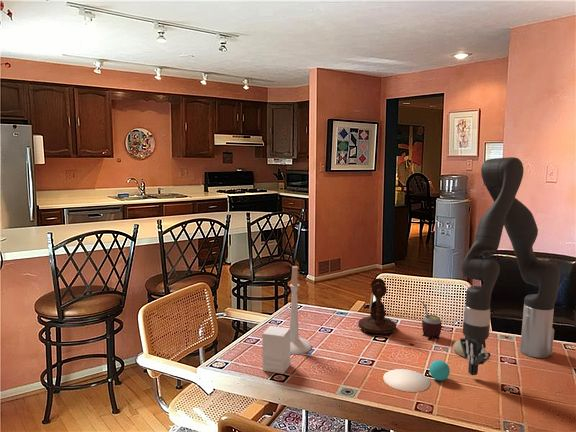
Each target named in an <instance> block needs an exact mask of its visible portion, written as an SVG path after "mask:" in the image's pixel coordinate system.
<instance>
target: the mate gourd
mask: <svg viewBox="0 0 576 432" xmlns="http://www.w3.org/2000/svg"><path fill="white" fill-rule="evenodd" d="M419 302H420V303H421V304H422V305H423V307H424V310H425V313H426V315H425V316H424V317H422V320H421V321H422V322H421V328H422V329H421V330H422V336H423V337H426V338H427V340H428V341H431V339H435V340H440V336H441V333H442V332H441V331H442V326H443V324H442V320H441V318H440V317H439V316H437V315H434V314H429V313H428V310H427V305H426V304H425V303H424V302H423V301H421V300H419Z"/></svg>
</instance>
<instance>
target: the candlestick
mask: <svg viewBox="0 0 576 432" xmlns="http://www.w3.org/2000/svg"><path fill="white" fill-rule="evenodd" d="M298 269H299V267H298V266H297V265H293V266H292V267H291V283H290V284H289V287H290V290H291V302H290V304H291V305H290V314H289V315H290V316H289V328H290V355H302V354H306V353H308V352H310V351H311V350H312V343H311V342H310V341H309V340H307V339H305V338H304V337H300V336H299V334H300V333H299V308H298V291H299V287H300V284H298V282H299V281H298V280H299V279H298V277H299V276H298V275H299V273H298V271H299V270H298Z"/></svg>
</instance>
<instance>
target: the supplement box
mask: <svg viewBox="0 0 576 432" xmlns="http://www.w3.org/2000/svg"><path fill="white" fill-rule="evenodd" d="M290 366H291V354H290V327H282V326H275V325H269V326H268V327H267V328H266V329H265V331H263V332H262V371H264V372H269V373H276V374H282V375H284V374H285V372H286V371H287V370H288V368H289V367H290Z"/></svg>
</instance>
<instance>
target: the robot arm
mask: <svg viewBox="0 0 576 432" xmlns="http://www.w3.org/2000/svg"><path fill="white" fill-rule="evenodd" d="M524 169H525V168H524V165H523V162H522V160H520V158H518V157H515V156H514V157H512V156H511V157H498V158H497V157H496V158H490V159H486V160H485V161H483V163H482V165H481V168H480V170H481V171H480V173H481V178H482V181H483V184H484V186H485V188H486V189H487V192H488V193H489V195H490V197H491V200H493V203H492V204H491V206H489V207H488V209H487V210H486V211H485V212H484V214H483V215H482V217H481V218H480V220H479V223H478V225H477V229H476V234H475V237H474V241H473V243H472V245H471V247H470V248H469V250H468V252H467V254H466V255H465V257H464V258H463V261H462V264H461V273H462V275H463V276H464V277H465V278H467V279H472V280H476V281H481V282H483V284H482V285H473V286H469V287H468V288H467V289H466V293H465V304H464V305H465V306H464V311H463V319H462V320H463V323H462V334H463V335H464V337H462V338H459V340H460V342H461V346H462V349H463V352H464V356H465V357H464V356H463V357H464V358H466V359H467V362H468V368H467V369H468V374H470V375H471V376H477V375H478V372H479V365H484V364H485V363H486V362H487V361H488V359H489V358H490V357H491V352H487V350H486V346H487V344H486V340H487V339H488V338H489V337H490V326H491V325H490V324H491V302H492V293H493V290H494V287H495V284H496V282H497V280H498V277H499V275H500V271H501V269H500V264H499V262H498V261H497V260H496V259H494V258H487V257H482V255H483V254H485V253H492V252H496V251H498V249H499V246H500V242H501V239H502V234H503V229H505V231H506V233H507V236H508V238H509V240H510V243H511V246H512V249H513V251H514V254H515V257H516V261H517V264H518V269H519V273H520V275H521V278H522V280H523V281H524V283H526V284H528V285H531V286H534V287H537V288H538V291H537V293H531V294H527V295H526V296H525V297H524V301H523V310H522V311H523V312H522V323H521V325H522V326H521V335H520V347H519V350H520V352H521V353H522V354H524V355H526V356H529V357H532V358H538V359H546V358H548V357H550V356H552V355H553V350H554V349H553V347H554V337H555V329H554V327H553V323H554V320H553V319H554V310H555V304H556V301H557V299H558V292H559V286H560V279H561V271H560V267H559V266H558V264H556V263H554V262H550V261H545V260H541V259H538V258H537V256H536V254H535V251H534V248H533V246H534V244H535V242H536V240H537V237H538V234H539V229H538V225H537V223H536V220H535V216H534V214H533V213H532V211H531V210H530V209H529V208H528V207H527V206H526V205H525V204H523V202H522V201H520V200H519V199H518V198H517V197H516V196H517V193H518V192H519V189H520V187H521V183H522V180H523V178H524V171H525V170H524Z"/></svg>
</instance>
